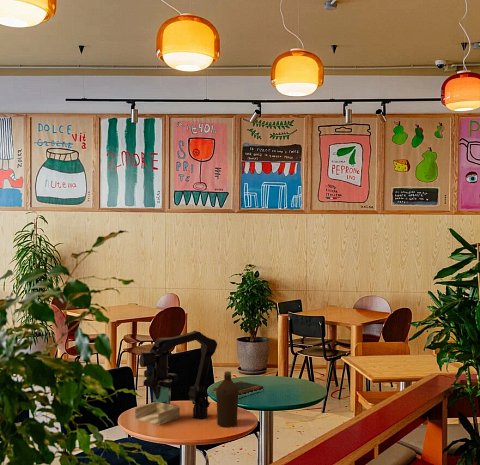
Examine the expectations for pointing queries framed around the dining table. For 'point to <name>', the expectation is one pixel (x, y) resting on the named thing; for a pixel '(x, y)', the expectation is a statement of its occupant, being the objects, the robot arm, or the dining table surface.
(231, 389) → the olive oil
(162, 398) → the teal block
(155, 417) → the birch crate
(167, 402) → the small box
